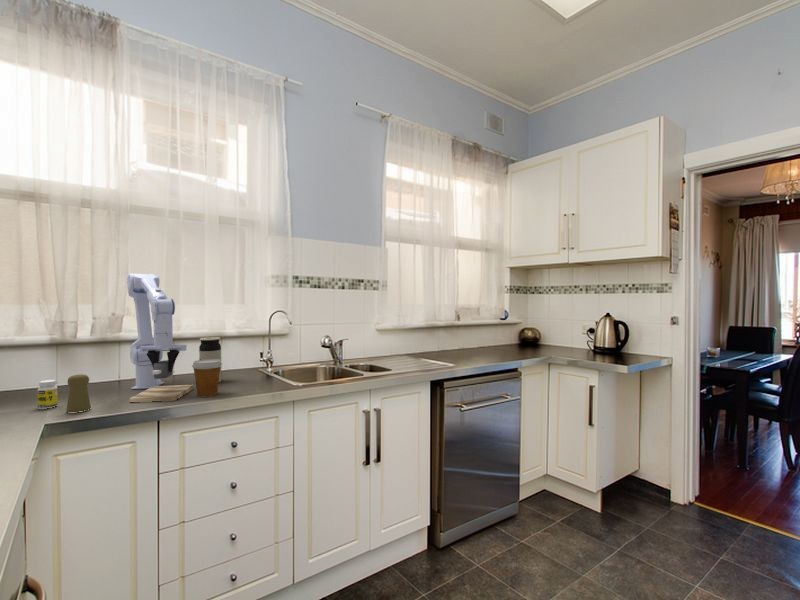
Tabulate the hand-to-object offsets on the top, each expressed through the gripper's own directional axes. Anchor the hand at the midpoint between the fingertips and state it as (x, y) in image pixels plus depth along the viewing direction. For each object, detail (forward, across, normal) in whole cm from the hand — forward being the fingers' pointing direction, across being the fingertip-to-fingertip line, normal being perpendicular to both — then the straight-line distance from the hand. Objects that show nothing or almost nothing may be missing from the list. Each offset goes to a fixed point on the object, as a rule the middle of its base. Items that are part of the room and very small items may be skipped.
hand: (163, 371), depth 142 cm
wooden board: (+8, 0, 0) cm, 8 cm away
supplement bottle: (+9, -30, -10) cm, 33 cm away
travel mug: (+9, +10, +20) cm, 24 cm away
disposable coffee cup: (+9, +15, -2) cm, 17 cm away
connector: (+2, 0, -1) cm, 2 cm away
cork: (+9, -18, -16) cm, 26 cm away
